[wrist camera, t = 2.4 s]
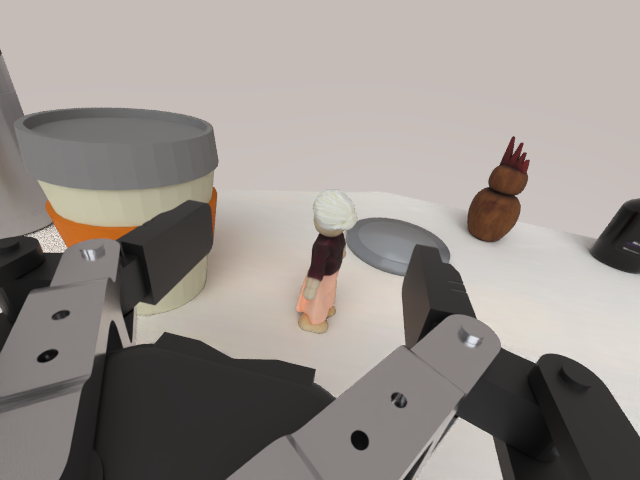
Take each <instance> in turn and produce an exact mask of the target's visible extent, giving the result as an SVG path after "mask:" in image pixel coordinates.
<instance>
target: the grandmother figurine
mask: <svg viewBox="0 0 640 480" xmlns="http://www.w3.org/2000/svg"><path fill="white" fill-rule="evenodd" d="M313 209H314V225H315V228H316V230H317V231H318V232H319V233H320V234H319V235H318V237H317V239H316V241H315V242H314V245H313V248H312V259H311V266H310V268H309V270H308V273H307V275H306V278H305V281H304V283H303V285H302V288H301V291H300V294H299V298H298V302H297V307H296V310H297V312H304V313H303V314H302V315H301V317H300V319H299V322H298V324H299V326H300V328H302V329H303V330H306V331H310V332H315V333H325V332H326V331H327V329H328V322H327V321H326V318H327V317H331V316H333V315H334V314H335V312H336V310H335V307H334V306H333V305H334V302H335V295H336V284H337V275H338V271H339V269H340V266H341V263H342V259H343V258H344V257H345V256H346V251H345V245H346V242H345V239H344V234H343V231H344V230H349V229H351V228H353V226H354V225H355V224H356V222H357V219H358V218H357V214H356V212H355V206H354V203H353V201H352V200H351V199H350V198H348V196H347V195H346V194H344V193H343V192H342V191H340V190H336V189H329V190H326V191H323V192H322V193H321V194H319V195H318V196H317V197H316V200H315V201H314V205H313Z"/></svg>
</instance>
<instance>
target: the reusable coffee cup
mask: <svg viewBox="0 0 640 480" xmlns="http://www.w3.org/2000/svg"><path fill="white" fill-rule="evenodd" d="M14 128H15V132H16V136H17V140H18V144H19V149H20V153H21V157H22V161H23V165H24V169H25V170H26V172H27V173H28V175H30V176H32V177H34V178H35V179H37V180H38V182H39V184H40V186H41V187H42V189H43V191H44V193H45V195H46V196H47V198H48V200H47V202H46V207H45V209H46V211H47V213H48V214H49V216H50V218H51V220H52V221H53V223H54V225H55V227H56V228H57V230H58V232H59V234H60V235H61V237H62V239H63V240H64V242H65V244H66V246H67V247H68V248H69V247H71V246H72V245H74V244H77V243H79V242H82V241H86V240H91V239H100V238H101V239H112V240H117V239H118V238H120V237H122V236H123V235H125V234H127V233H128V232H130V231H132V230H133V229H135V228H137V227H138V226H140V225H141V226H142V224H143V223H145V222H147V221H148V220H149V221H150V220H151V219H152V218H153V217H155V216H157V215H158V214H160V213H163V212H166V211H169V210H172V209H174V208H175V207H177V206H179V205H180V204H182V203H184V202H185V201H187V200H193V201H199V202H204V203H208V204H209V205H210V207H211V213H212V227H213V237H214V226H215V214H216V202H217V192H216V190H215V188H214V187H213V177H214V170H215V168H216V167H217V166H218V155H217V149H216V144H215V138H214V131H213V127H212V125H211V124H210V123H208V122H206V121H204V120H201V119H198V118H195V117H192V116H187V115H183V114H177V113H171V112H163V111H156V110H145V109H130V108H74V109H60V110H51V111H43V112H38V113H33V114H29V115H26V116H22V117H20V118H18V119H17V120H15V122H14ZM207 259H208V254H207V255H206V256H205V257H204V258H203V259H202V260H201V261H200V262H199V263H198V264H197V265H196V266H195V267H194V268H193V269H192V270H191V271H190V272H189V273H188V274H187V275H186V276H185V277H184V278H183V279H182V280H181V281H180V282H179V283H178V284H177V285H176V286H175V287H174V288H173V289H172V290H171V291H170V292H169V293H168V294H167V295H166V296H165V297H164V298H163V299H161V300H160V301H159V302H158V303H157V304H156V305H151V304H147V303H142V302H139V303H138V304H137V305H136V309H137V315H140V316H142V315H154V314H159V313H164V312H167V311H170V310H173V309H176V308H178V307H180V306H182V305H184V304H186V303H188V302H189V301H191V300H192V299H193V298H195V297H196V296H197V295H198V294H199V293H200V291H201V290H202V289H203V287H204V285H205V282H206V273H207Z"/></svg>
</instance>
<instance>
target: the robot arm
mask: <svg viewBox="0 0 640 480" xmlns="http://www.w3.org/2000/svg"><path fill="white" fill-rule="evenodd" d="M1 54H2V53H1V50H0V307H1V309H2V311H3V312H2V313H0V480H415V479H416V478H417V476H418V475H419V473H420V472H421V470H422V469H423V467H424V466H425V464H426V463H427V461H428V460H429V459H430V457H431V456H432V454H433V453H434V452H435V450H436V449H437V447H438V446H439V445H440V443H441V442H442V440H443V439H444V438H445V436H446V435H447V434H448V432H449V431H450V429H451V428H452V427H453V425H454V424H455V422H456V421H457V420H458V418H459V417H460V418H462V419H464V420H466V421H468V422H469V423H471V424H473V425H475V426H477V427H478V428H480V429H482V430H484V431H486V432H487V433H489V434H491V435H493V439H494V443H495V447H496V452H497V456H498V460H499V464H500V468H501V472H502V476H503V480H640V437H639V435H638V434H637V432H636V431H635V429H634V428H633V426H632V424H631V423H630V421H629V420H628V418H627V417H626V415H625V414H624V412H623V411H622V409H621V408H620V406H619V405H618V403H617V402H616V400H615V399H614V397H613V395H612V394H611V392H610V391H609V389H608V388H607V387H606V385H605V384H604V383H603V382H602V380H601V379H600V378H599V377H597V376H596V375H595V374H594V373H593V372H592V371H590V370H589V369H588V368H586V367H585V366H583V365H582V364H580V363H578V362H576V361H574V360H572V359H570V358H568V357H565V356H562V355H558V354H545V355H543V356H541V357H540V359H539V360H538V361H537V363H536V364H535V363H533V362H531V361H529V360H526V359H524V358H522V357H520V356H517V355H515V354H513V353H511V352H509V351H507V350H505V349H503V348H501V343H500V340H499V338H498V336H497V335H496V334H495V332H494V331H493V330H492V329H491V328H490V327H488V326H487V325H486V324H484V323H483V322H481V321H479V320H477V318H476V316H475V313H474V310H473V308H472V305H471V302H470V300H469V297H468V294H467V293H466V289H465V287H464V285H463V281H462V279H461V276H460V273H459V272H458V271H457V270H456V269H455V268H454V267H453V266H452V265H451V264H448V263H443V262H442V259H441V256H440V253H439V250H438V248H436V247H431V246H426V245H421V244H416V245H415V247H414V249H413V252H412V255H411V259H410V262H409V265H408V268H407V271H406V274H405V277H404V281H403V286H402V303H403V316H404V330H405V343H406V346H405V345H402V346H400V347H398V348H397V349H396V350H395V351H393V352H392V353H391V354H390V355H389V356H387V357H386V358H385V359H384V360H383V361H381V362H380V363H379V364H378V365H377V366H375V367H374V368H373V369H372V370H371V371H369V372H368V373H367V374H366V375H365V376H363V377H362V378H361V379H360V380H359V381H357V382H356V383H355V384H354V385H352V386H351V387H350V388H349V389H348V390H346V391H345V392H344V393H343V394H342V395H340V396H339V397H338V398H337V399H336V398H335V397H334V396H333V395H331V394H330V393H329V392H328V391H327V390H325V389H324V388H322V387H321V386H319V385H317V384H316V383H314V377H315V371H316V369H312V368H308V367H304V366H300V365H296V364H292V363H288V362H284V361H280V360H261V359H234V358H231V357H229V356H227V355H225V354H223V353H221V352H220V351H218V350H216V349H214V348H212V347H211V346H209V345H207V344H205V343H203V342H201V341H199V340H195V339H191V338H187V337H183V336H179V335H175V334H171V333H167V332H164V333H163V335H162V336H161V337H160V338H159V339H158V340H157V341H156V343H155V344H141V345H136V333H137V309H136V305H137V304H138V303H139V302H142V303H147V304H151V305H156V304H157V303H158V302H159V301H160V300H161V299H163V298H164V297H165V296H166V295H167V294H168V293H169V292H170V291H171V290H172V289H173V288H174V287H175V286H176V285H177V284H178V283H179V282H180V281H181V280H182V279H183V278H184V277H185V276H186V275H187V274H188V273H189V272H190V271H191V270H192V269H193V268H194V267H195V266H196V265H197V264H198V263H199V262H200V261H201V260H202V259H203V258H204V257H205V256H206V255H207V254H208V253H209V252H210V250H211V248H212V245H213V227H212V213H211V207H210V205H209V204H208V203H204V202H199V201H193V200H187V201H185V202H184V203H182V204H180V205H179V206H177V207H175V208H174V209H172V210H169V211H166V212H163V213H160V214H158V215H157V216H155V217H153V218H152V219H151V220H150V221H149V220H148V221H147V222H145V223H143V224H142V226H141V225H140V226H138V227H137V228H135V229H133V230H132V231H130V232H128V233H127V234H125V235H123V236H122V237H120V238H118V239H117V240H112V239H101V238H100V239H91V240H86V241H82V242H79V243H77V244H74V245H72V246H71V247H69V248H68V249H66V250H65V251H64V253H43V251H42V248H41V246H40V244H39V241H38V240H37V239H35V238H33V237H27V236H20V235H24V234H27V233H31V232H34V231H36V230H39V229H41V228H44V227H46V226H48V225H49V224H51V223H52V222H53V221H52V220H51V218H50V216H49V214H48V213H47V211H46V209H45V207H46V202H47V200H48V198H47V196H46V195H45V193H44V191H43V189H42V187H41V186H40V184H39V182H38V180H37V179H35V178H34V177H32V176H30V175H28V173H27V172H26V170H25V169H24V165H23V161H22V157H21V153H20V149H19V144H18V140H17V136H16V132H15V128H14V122H15V120H17V119H18V118H20V117H22V116H24V113H23V111H22V108H21V105H20V102H19V100H18V97H17V94H16V91H15V89H14V86H13V83H12V80H11V78H10V75H9V72H8V70H7V67H6V64H5V61H4V58H3V56H2V55H1ZM15 236H17V237H15Z"/></svg>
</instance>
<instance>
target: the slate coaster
mask: <svg viewBox="0 0 640 480" xmlns="http://www.w3.org/2000/svg"><path fill="white" fill-rule="evenodd" d="M346 240H347V244H348V246H349V248H350V249H351V251H352V252H353V253H354V254H355V255H356V256H357V257H358V258H360V259H361V260H362V261H364V262H366V263H367V264H369V265H371V266H373V267H375V268H377V269H380V270H382V271H385V272H388V273H392V274H396V275H400V276H405V274H406V271H407V268H408V265H409V262H410V259H411V255H412V252H413V249H414V247H415V245H416V244H421V245H426V246H431V247H436V248H438V250H439V253H440V256H441V259H442V262H443V263H448V262H449V260H450V252H449V250H448V248H447V246H446V245H445V244H444V242H443V241H442V240H440V239H439V238H438V237H437V236H435V235H434V234H432V233H431V232H429V231H427V230H425V229H423V228H421V227H419V226H416V225H414V224H411V223H408V222H404V221H400V220H396V219H389V218H367V219H362V220H359V221H357V222H356V224H355V225H354V226H353V228H351V229H349V230H348V232H347V238H346Z"/></svg>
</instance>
